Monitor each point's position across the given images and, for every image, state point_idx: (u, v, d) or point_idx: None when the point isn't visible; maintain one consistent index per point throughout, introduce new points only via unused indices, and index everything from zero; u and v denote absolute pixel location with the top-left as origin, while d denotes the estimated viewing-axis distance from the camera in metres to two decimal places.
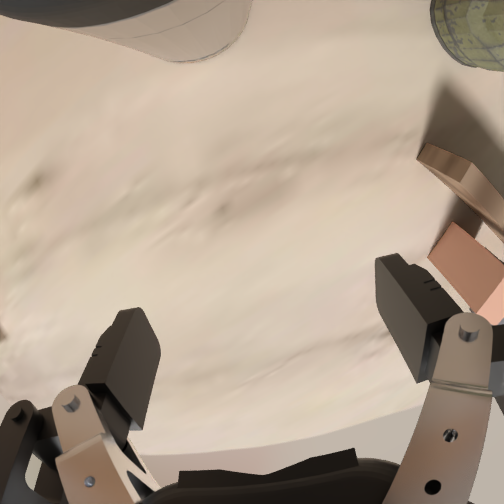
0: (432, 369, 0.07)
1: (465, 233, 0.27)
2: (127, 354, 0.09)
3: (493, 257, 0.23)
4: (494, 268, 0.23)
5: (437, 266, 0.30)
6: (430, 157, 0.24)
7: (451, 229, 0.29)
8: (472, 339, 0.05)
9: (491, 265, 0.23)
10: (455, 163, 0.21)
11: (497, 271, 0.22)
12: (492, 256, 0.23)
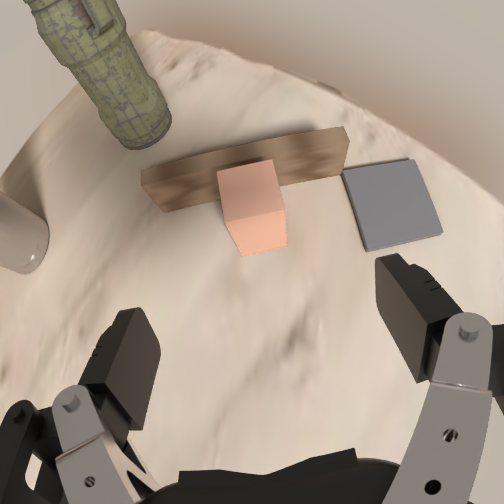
0: (432, 369, 0.07)
1: None
2: (127, 354, 0.09)
3: None
4: None
5: (239, 249, 0.34)
6: None
7: None
8: (472, 339, 0.05)
9: None
10: None
11: None
12: None
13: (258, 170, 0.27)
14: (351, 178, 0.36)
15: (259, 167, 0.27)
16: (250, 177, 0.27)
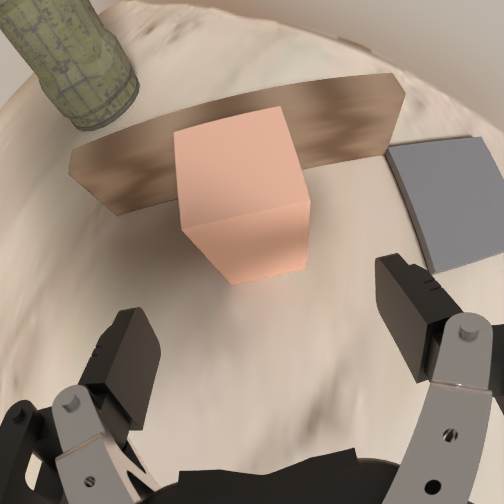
0: (432, 369, 0.07)
1: None
2: (127, 354, 0.09)
3: None
4: None
5: None
6: None
7: None
8: (472, 339, 0.05)
9: None
10: None
11: None
12: None
13: (253, 125, 0.13)
14: (402, 159, 0.22)
15: (255, 120, 0.13)
16: (236, 137, 0.13)
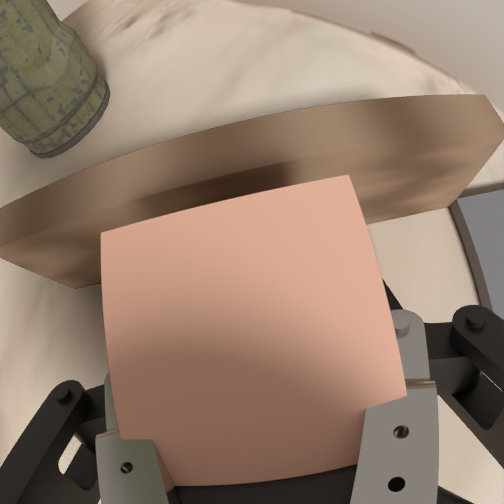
0: None
1: None
2: None
3: None
4: None
5: None
6: None
7: None
8: (399, 335, 0.06)
9: None
10: None
11: None
12: None
13: (286, 231, 0.06)
14: (474, 217, 0.14)
15: (291, 215, 0.06)
16: (244, 268, 0.05)
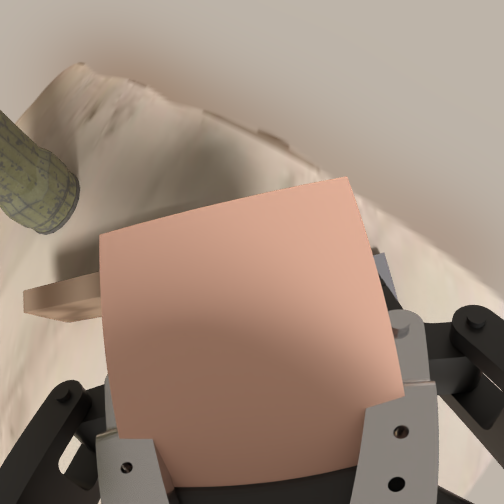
0: None
1: None
2: None
3: None
4: None
5: None
6: None
7: None
8: (399, 336, 0.06)
9: None
10: None
11: None
12: None
13: (284, 233, 0.06)
14: None
15: (289, 217, 0.06)
16: (242, 269, 0.05)
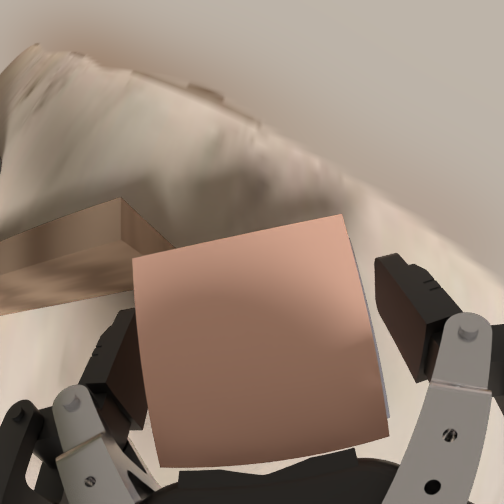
0: (431, 369, 0.07)
1: None
2: (128, 353, 0.09)
3: None
4: None
5: None
6: None
7: None
8: (472, 339, 0.05)
9: None
10: None
11: None
12: None
13: (289, 262, 0.07)
14: None
15: (293, 249, 0.07)
16: (255, 292, 0.07)
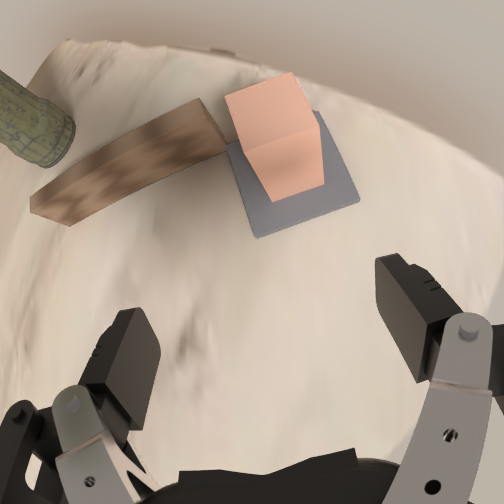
0: (432, 369, 0.07)
1: None
2: (127, 354, 0.09)
3: None
4: None
5: None
6: None
7: None
8: (472, 339, 0.05)
9: None
10: None
11: None
12: None
13: (276, 86, 0.20)
14: (235, 152, 0.31)
15: (277, 82, 0.20)
16: (267, 95, 0.20)
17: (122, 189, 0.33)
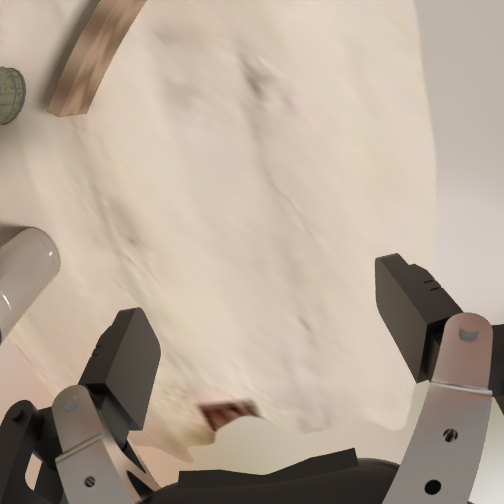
0: (432, 369, 0.07)
1: None
2: (127, 354, 0.09)
3: None
4: None
5: None
6: None
7: None
8: (472, 339, 0.05)
9: None
10: None
11: None
12: None
13: None
14: None
15: None
16: None
17: (116, 40, 0.29)
